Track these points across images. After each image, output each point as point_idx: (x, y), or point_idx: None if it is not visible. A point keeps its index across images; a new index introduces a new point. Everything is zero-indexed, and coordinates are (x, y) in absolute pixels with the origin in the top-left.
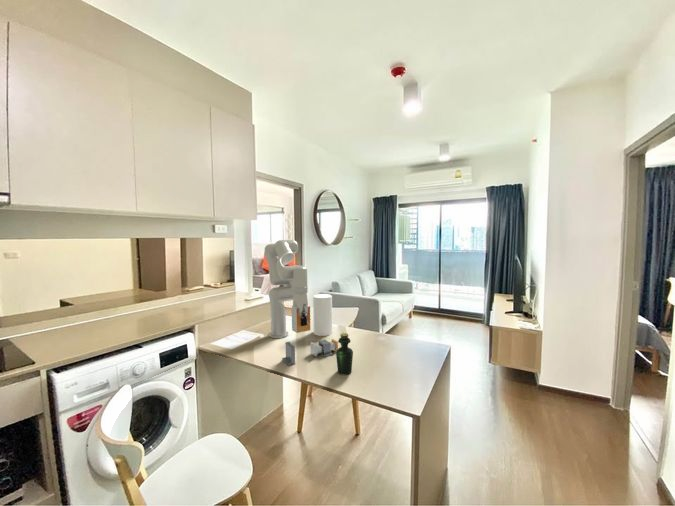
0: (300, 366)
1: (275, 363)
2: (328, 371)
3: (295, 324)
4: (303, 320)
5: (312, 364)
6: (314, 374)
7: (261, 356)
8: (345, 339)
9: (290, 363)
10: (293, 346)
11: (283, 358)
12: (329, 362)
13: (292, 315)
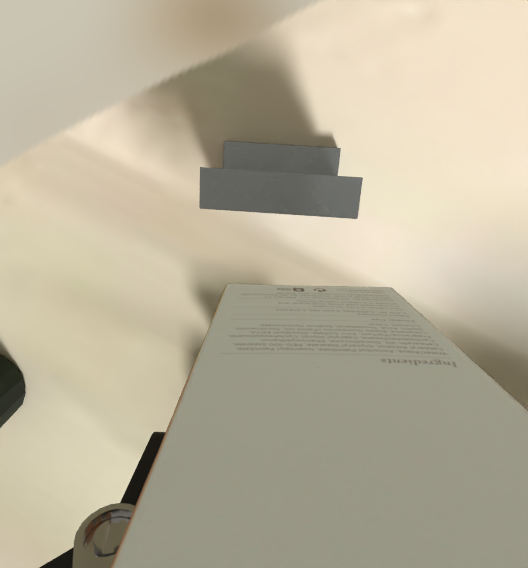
0: (171, 212)
1: (314, 80)
2: (29, 316)
3: (263, 324)
4: (129, 488)
5: (157, 288)
6: (30, 233)
7: (509, 28)
8: None
9: (223, 164)
10: (208, 197)
11: (326, 153)
12: (130, 379)
13: (482, 426)
